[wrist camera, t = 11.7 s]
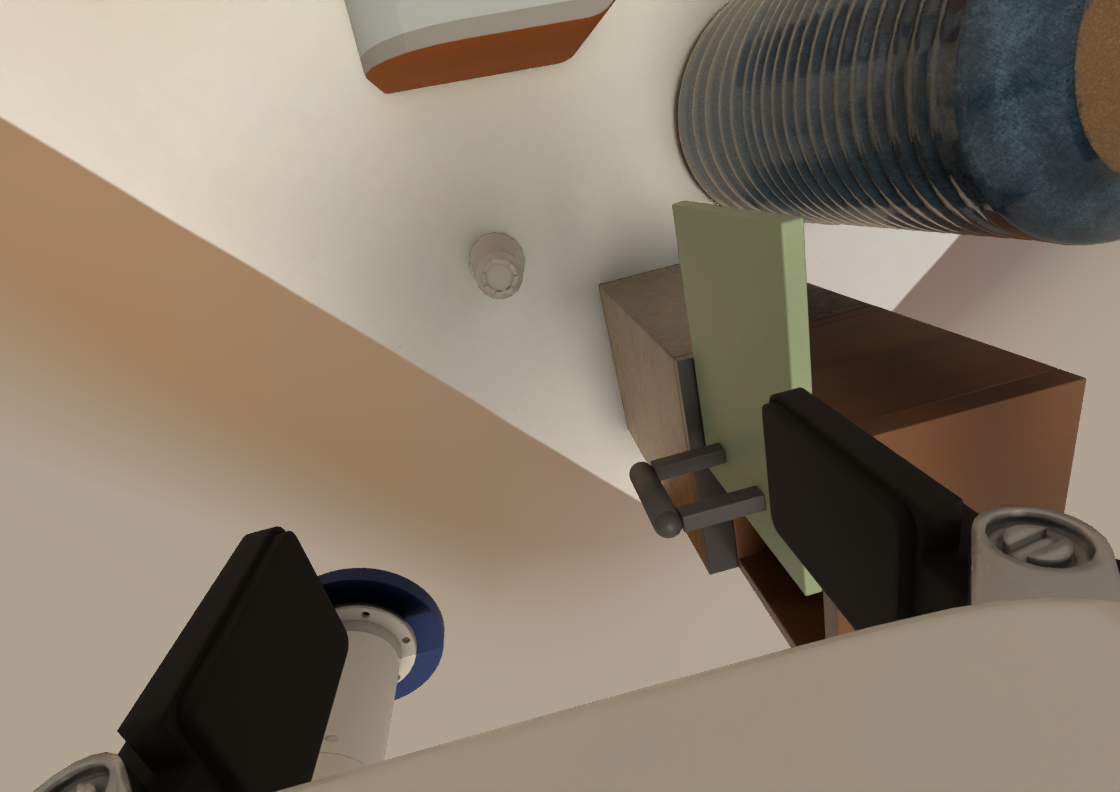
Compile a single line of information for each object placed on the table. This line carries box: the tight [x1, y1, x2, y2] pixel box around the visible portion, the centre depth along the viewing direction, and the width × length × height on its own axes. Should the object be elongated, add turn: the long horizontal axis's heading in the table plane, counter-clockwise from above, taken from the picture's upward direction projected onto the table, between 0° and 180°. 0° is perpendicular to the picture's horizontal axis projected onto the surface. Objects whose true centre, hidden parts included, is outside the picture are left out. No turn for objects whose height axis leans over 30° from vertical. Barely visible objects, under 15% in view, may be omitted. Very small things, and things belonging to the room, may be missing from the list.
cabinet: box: [599, 264, 1086, 648], centre depth 35 cm, size 11×14×31 cm
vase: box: [678, 0, 1120, 245], centre depth 29 cm, size 16×16×32 cm
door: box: [629, 201, 822, 596], centre depth 23 cm, size 5×14×10 cm, turn 13°
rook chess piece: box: [469, 233, 525, 299], centre depth 41 cm, size 4×4×8 cm
